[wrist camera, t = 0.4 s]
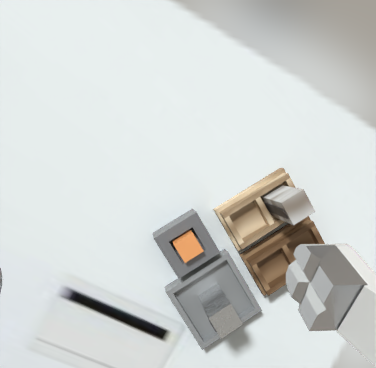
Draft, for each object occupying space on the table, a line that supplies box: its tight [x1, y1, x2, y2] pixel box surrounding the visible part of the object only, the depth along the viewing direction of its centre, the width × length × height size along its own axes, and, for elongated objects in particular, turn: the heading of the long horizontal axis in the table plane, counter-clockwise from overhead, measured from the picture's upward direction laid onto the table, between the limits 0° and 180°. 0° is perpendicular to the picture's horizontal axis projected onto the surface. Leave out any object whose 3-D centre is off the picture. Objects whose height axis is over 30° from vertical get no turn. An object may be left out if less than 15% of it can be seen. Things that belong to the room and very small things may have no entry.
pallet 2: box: [240, 216, 325, 296], centre depth 63 cm, size 10×16×4 cm, turn 120°
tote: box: [165, 249, 262, 350], centre depth 62 cm, size 14×14×2 cm
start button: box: [172, 229, 203, 263], centre depth 57 cm, size 4×4×3 cm
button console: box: [153, 209, 220, 278], centre depth 59 cm, size 9×9×4 cm
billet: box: [198, 283, 243, 339], centre depth 58 cm, size 4×5×9 cm
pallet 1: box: [213, 168, 315, 251], centre depth 58 cm, size 10×16×10 cm, turn 120°
